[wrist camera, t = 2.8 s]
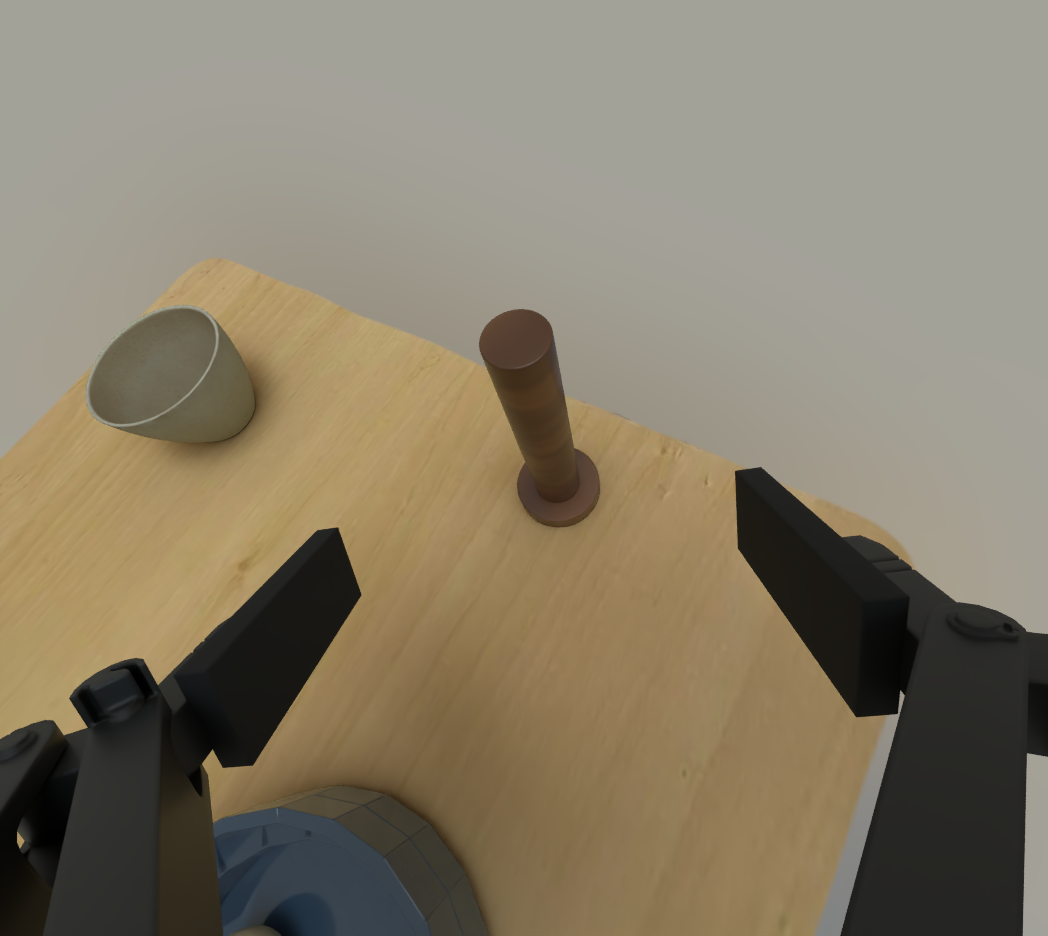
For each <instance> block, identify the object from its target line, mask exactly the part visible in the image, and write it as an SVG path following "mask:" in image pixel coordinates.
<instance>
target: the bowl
mask: <svg viewBox="0 0 1048 936" xmlns="http://www.w3.org/2000/svg"><path fill="white" fill-rule="evenodd" d="M213 832H214V842H215V853H216V863H217V874H218V884H219V894H220V905H221V915H222V925H223V936H229V935H231V934H232V933H234V932H236V931H238V930H240V929H242V928H245V927H249V926H253V925H264V926H268V927H270V928H273V929H274V930H276V931H277V932H278V933H279V934H280V935H281V936H489V935H488V932H487V929H486V926H485V924H484V921H483V918H482V915H481V913H480V910H479V907H478V905H477V902H476V899H475V896H474V894H473V891H472V888H471V886H470V883H469V880H468V877H467V875H466V873H465V871H464V870H463V868H462V867H461V865H460V864H459V863H458V861H457V860H456V859H455V857H454V856H453V854H452V853H451V852H450V850H449V849H448V848H447V846H446V845H445V844H444V842H443V841H442V839H441V838H440V837H439V835H438V834H437V833H436V831H435V830H434V828H433V827H432V826H431V825H430V824H429V823H428V822H427V821H425V820H424V819H422V818H421V817H419V816H418V815H417V814H415V813H414V812H412V811H411V810H409V809H408V808H406V807H405V806H403V805H402V804H400V803H399V802H398V801H396V800H395V799H393V798H392V797H390V796H389V795H386V794H383V793H378V792H373V791H369V790H364V789H359V788H354V787H349V786H345V785H341V786H340V785H337V786H332V787H327V788H321V789H316V790H311V791H306V792H301V793H296V794H293V795H290V796H287V797H284V798H281V799H278V800H275V801H272V802H269V803H266V804H263V805H259V806H256V807H253V808H250V809H247V810H244V811H241V812H238V813H235V814H232V815H229V816H226V817H224V818H221V819H219V820H218V821H216V822H214V823H213Z"/></svg>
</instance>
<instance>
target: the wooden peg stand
mask: <svg viewBox="0 0 1048 936" xmlns="http://www.w3.org/2000/svg"><path fill="white" fill-rule="evenodd" d="M479 348H480V352H481V355H482V358H483V360H484V362H485V365H486V367H487V370H488V372H489V375H490V377H491V379H492V382H493V384H494V387H495V389H496V392H497V394H498V397H499V399H500V401H501V404H502V406H503V409H504V411H505V414H506V416H507V418H508V421H509V423H510V426H511V428H512V431H513V433H514V436H515V438H516V440H517V443H518V445H519V448H520V450H521V453H522V455H523V457H524V460H525V462H526V463H525V464H524V465H523V467H522V469H521V471H520V473H519V477H518V483H517V488H518V494H519V497H520V500H521V502H522V504H523V506H524V508H525V509H526V511H527V512H528V513H529V515H530V516H531V517H533V518H534V519H535V520H536V521H538V522H540V523H542V524H545V525H548V526H552V527H565V526H570V525H573V524H575V523H577V522H579V521H581V520H583V519H584V518H585V517H586V516H588V515H589V514H590V512H591V511H592V510H593V509H594V507H595V505H596V503H597V501H598V498H599V493H600V485H599V475H598V471H597V469H596V467H595V465H594V463H593V462H592V460H591V459H590V458H589V457H588V456H587V455H586V454H584V453H583V452H581V451H579V450H577V449H575V448H574V445H573V440H572V434H571V429H570V423H569V418H568V412H567V407H566V402H565V396H564V391H563V386H562V380H561V374H560V369H559V363H558V358H557V352H556V347H555V342H554V336H553V331H552V327H551V325H550V323H549V322H548V321H547V319H546V318H544V317H543V316H542V315H540V314H539V313H537V312H534V311H531V310H525V309H518V310H511V311H507V312H504V313H502V314H500V315H498V316H497V317H495V318H494V319H492V320H491V321H490V322H489V323H488V324H487V325H486V327H485V328H484V330H483V332H482V334H481V336H480V341H479Z"/></svg>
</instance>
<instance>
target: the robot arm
mask: <svg viewBox="0 0 1048 936" xmlns="http://www.w3.org/2000/svg"><path fill="white" fill-rule="evenodd" d="M735 481H736V508H737V535H738V549H739V551H740V552H741V554H742V555H743V556H744V558H745V559H746V561H747V562H748V564H749V565H750V566H751V568H752V569H753V571H754V572H755V574H756V575H757V576H758V578H759V579H760V581H761V582H762V584H763V585H764V586H765V588H766V589H767V591H768V592H769V594H770V595H771V596H772V598H773V599H774V601H775V602H776V603H777V605H778V606H779V608H780V609H781V611H782V612H783V613H784V615H785V616H786V618H787V619H788V621H789V622H790V623H791V625H792V626H793V628H794V629H795V631H796V632H797V633H798V635H799V636H800V638H801V639H802V641H803V642H804V643H805V645H806V646H807V648H808V649H809V651H810V652H811V653H812V655H813V656H814V658H815V659H816V661H817V662H818V663H819V665H820V666H821V668H822V669H823V671H824V672H825V673H826V675H827V676H828V678H829V679H830V681H831V682H832V683H833V685H834V686H835V688H836V689H837V691H838V692H839V693H840V695H841V696H842V698H843V699H844V701H845V702H846V703H847V705H848V706H849V708H850V709H851V710H852V712H853V713H854V715H855V716H856V717H866V716H879V715H891V714H898V707H899V697H900V690H901V691H902V692H903V694H904V695H905V697H904V701H903V705H902V709H901V712H900V716H899V720H898V724H897V727H896V731H895V735H894V738H893V742H892V746H891V749H890V753H889V757H888V761H887V764H886V768H885V772H884V776H883V779H882V783H881V787H880V790H879V794H878V798H877V801H876V805H875V809H874V813H873V816H872V820H871V824H870V828H869V831H868V835H867V839H866V843H865V846H864V850H863V854H862V857H861V861H860V865H859V868H858V872H857V876H856V880H855V883H854V887H853V891H852V894H851V898H850V902H849V905H848V909H847V913H846V917H845V921H844V924H843V928H842V932H841V935H840V936H1023V895H1024V894H1023V893H1024V852H1025V809H1026V807H1025V806H1026V804H1025V803H1026V765H1027V753H1029V754H1035V755H1041V756H1047V757H1048V634H1040V633H1032V632H1026V630H1025V628H1023V627H1022V626H1021V625H1020V624H1018V622H1016V621H1015V620H1014V619H1012V618H1010V617H1008V616H1006V615H1004V614H1002V613H1000V612H998V611H996V610H993V609H989V608H986V607H983V606H980V605H974V604H967V603H960V602H958V603H957V602H955V601H954V600H953V599H952V598H950V597H949V596H948V595H946V594H945V593H944V592H943V591H941V590H940V589H939V588H937V587H936V586H935V585H934V584H932V583H931V582H930V581H928V580H927V579H926V578H925V577H923V576H922V575H921V574H920V573H918V572H917V571H916V570H912V568H911V566H909V565H908V564H907V563H905V562H904V561H903V560H902V559H900V560H899V558H898V556H897V555H895V554H894V553H893V552H891V551H890V550H889V549H888V548H886V547H885V546H884V545H882V544H880V543H877V542H875V541H873V540H870V539H868V538H866V537H863V536H861V535H859V536H850V537H841V536H839V535H838V534H837V533H836V532H835V531H834V530H833V529H831V528H830V527H829V526H828V525H827V524H826V523H824V522H823V521H822V520H821V519H820V518H819V517H818V516H816V515H815V514H814V513H813V512H812V511H811V510H810V509H808V508H807V507H806V506H805V505H804V504H803V503H801V502H800V501H799V500H798V499H797V498H796V497H795V496H793V495H792V494H791V493H790V492H789V491H788V490H787V489H785V488H784V487H783V486H782V485H781V484H780V483H778V482H777V481H776V480H775V479H774V478H773V477H772V476H770V475H769V474H768V473H767V472H766V471H765V470H764V469H762V468H761V467H759V468H752V469H745V470H738V471H735ZM360 597H361V592H360V589H359V586H358V583H357V580H356V578H355V575H354V572H353V569H352V566H351V563H350V560H349V558H348V555H347V552H346V549H345V546H344V543H343V540H342V538H341V535H340V532H339V529H338V527H337V528H330V529H323V530H317V531H316V532H315V533H314V534H313V535H312V536H311V537H310V538H309V539H308V540H307V541H306V542H305V543H304V544H303V545H302V546H301V547H300V548H299V549H298V550H297V551H296V552H295V553H294V554H293V555H292V556H291V557H290V558H289V559H288V560H287V561H286V562H285V563H284V564H283V565H282V566H281V567H280V568H279V569H278V570H277V571H276V572H275V573H274V574H273V575H272V576H271V577H270V578H269V579H268V580H267V581H266V582H265V583H264V584H263V585H262V586H261V587H260V588H259V589H258V590H257V591H256V592H255V593H254V594H253V595H252V596H251V597H250V599H249V600H248V601H247V602H246V603H245V604H244V605H243V606H242V607H241V608H240V609H239V610H238V611H237V612H236V613H235V614H234V615H233V616H231V617H230V618H229V619H227V620H226V621H224V622H223V623H221V624H220V625H218V626H217V627H216V628H215V629H214V630H213V631H212V632H211V633H210V634H209V635H208V636H207V637H206V638H205V641H204V642H201V643H200V644H199V645H198V646H197V647H196V648H195V649H194V650H193V651H194V652H193V653H190V654H189V655H188V656H187V657H186V658H185V659H184V660H183V661H182V662H181V663H180V664H179V665H178V666H177V667H176V668H175V669H174V670H173V671H172V672H171V673H170V674H169V675H168V676H167V677H166V678H165V679H164V680H163V681H162V682H161V683H160V684H159V685H157V683H156V681H155V680H154V678H153V676H152V674H151V672H150V671H149V669H148V667H147V665H146V663H145V662H144V660H143V659H138V658H134V659H128V660H124V661H121V662H119V663H116V664H113V665H111V666H109V667H107V668H105V669H103V670H101V671H99V672H97V673H96V674H94V675H93V676H91V677H90V678H88V679H87V680H85V681H84V682H83V683H82V684H81V685H80V686H79V687H77V688H76V689H75V690H74V692H73V693H72V695H71V696H70V698H69V699H70V701H71V702H72V704H73V705H74V707H75V708H76V710H77V711H78V713H79V714H80V716H81V718H82V719H83V721H84V722H85V724H86V725H87V727H88V728H86V729H83V730H79V731H76V732H73V733H70V734H67V735H63V734H62V732H61V731H60V729H59V728H58V726H57V725H56V723H55V722H54V721H53V720H44V721H40V722H37V723H33V724H31V725H28V726H26V727H24V728H20V729H17V730H15V731H14V732H12V733H10V735H6V736H5V737H3V738H2V739H0V936H223V925H222V915H221V905H220V894H219V884H218V874H217V863H216V853H215V842H214V832H213V822H212V811H211V801H210V791H209V780H208V774H207V773H206V771H205V769H204V767H203V765H202V763H203V761H204V760H205V759H206V757H207V756H208V755H209V753H210V752H211V751H212V749H213V750H214V752H215V754H216V756H217V758H218V760H219V761H220V763H221V765H222V767H223V768H227V767H240V766H252V765H254V763H255V761H256V760H257V758H258V757H259V755H260V754H261V752H262V750H263V749H264V747H265V746H266V744H267V743H268V741H269V739H270V738H271V736H272V735H273V733H274V732H275V730H276V728H277V727H278V725H279V724H280V722H281V721H282V719H283V717H284V716H285V714H286V713H287V711H288V710H289V708H290V706H291V705H292V703H293V702H294V700H295V699H296V697H297V695H298V694H299V692H300V691H301V689H302V688H303V686H304V684H305V683H306V681H307V680H308V678H309V677H310V675H311V674H312V672H313V670H314V669H315V667H316V666H317V664H318V663H319V661H320V659H321V658H322V656H323V655H324V653H325V652H326V650H327V648H328V647H329V645H330V644H331V642H332V641H333V639H334V637H335V636H336V634H337V633H338V631H339V630H340V628H341V626H342V625H343V623H344V622H345V620H346V619H347V617H348V615H349V614H350V612H351V611H352V609H353V608H354V606H355V604H356V603H357V601H358V600H359V598H360ZM17 832H18V833H19V834H20V835H21V837H22V838H23V839H24V840H25V841H24V843H23V845H22V847H21V848H19V846H18V844H17Z"/></svg>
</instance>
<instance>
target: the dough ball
mask: <svg viewBox="0 0 1048 936" xmlns="http://www.w3.org/2000/svg"><path fill="white" fill-rule="evenodd" d="M229 936H281V935H280V934H279V933H278V932H277V931H276V930H274V929H273V928H270V927H268V926H264V925H253V926H249V927H245V928H242V929H240V930H238V931H236V932H234V933H232V934H231V935H229Z"/></svg>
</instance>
